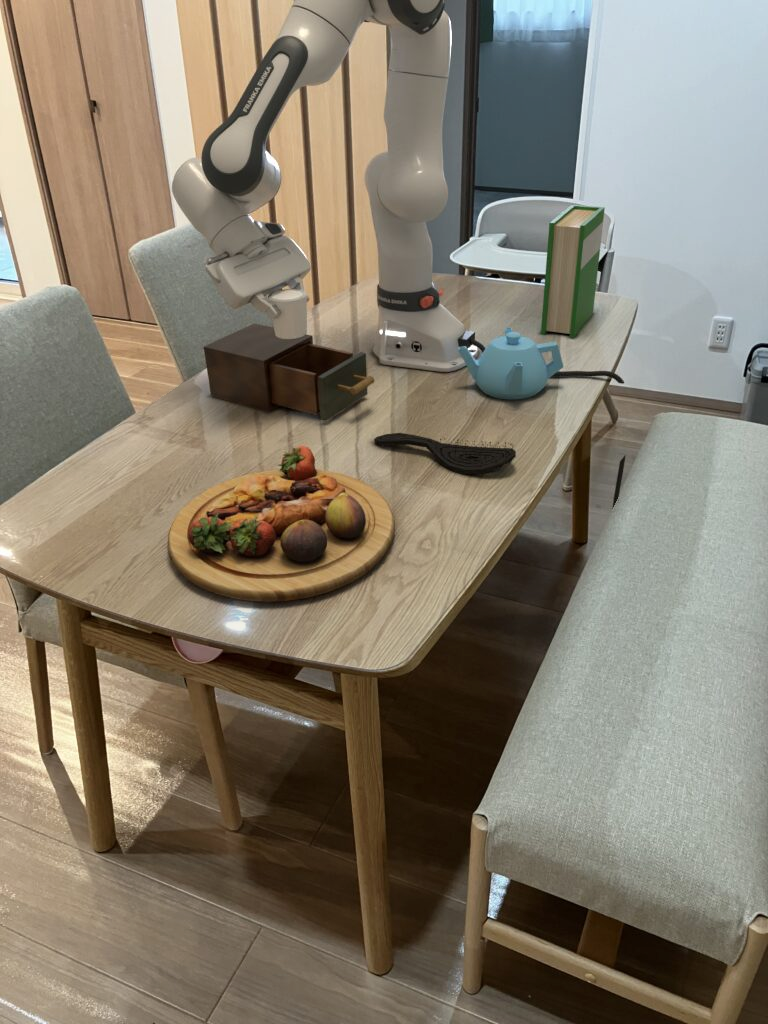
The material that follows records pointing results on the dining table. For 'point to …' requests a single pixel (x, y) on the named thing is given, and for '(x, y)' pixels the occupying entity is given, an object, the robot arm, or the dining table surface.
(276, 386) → the drawer
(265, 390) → the cabinet
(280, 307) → the white cylinder
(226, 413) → the dining table surface
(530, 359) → the teapot
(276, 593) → the wooden plate
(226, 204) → the robot arm
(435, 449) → the hairbrush
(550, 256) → the hardback book
